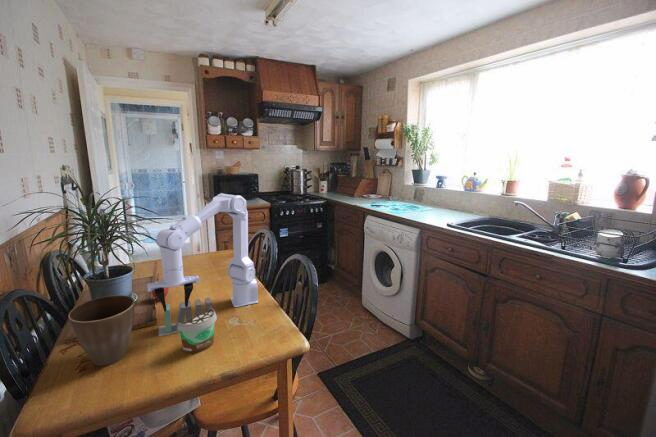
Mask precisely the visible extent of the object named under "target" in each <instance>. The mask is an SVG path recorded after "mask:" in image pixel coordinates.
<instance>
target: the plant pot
mask: <svg viewBox="0 0 656 437" xmlns="http://www.w3.org/2000/svg"><path fill="white" fill-rule="evenodd" d="M134 314H135V299H134V298H133V297H132V296H129V295H123V294H120V295H119V294H116V295H105V296H101V297H98V298H93V299H91V300H87V301H85V302H83V303H80V304H79V305H77V306H75V307H74V308H73V309H71V310H70V312H69V313H68V316H67V317H68V320H69V322H70V325H71V328H72V329H73V332H74V334H75V337H76V339H77V341H78V342H79V344H80V346H81V347H82V349H83V350H84V352H85V354H86V355H87V357H89V359H90V360H91V361H92V363H94V365H95V366H98V367H105V366H110V365H113V364H115V363H118V362H119V361H120V360H122V359H124V357H125V355H126V352H127V350H128V347H129V343H130V340H131V335H132V330H133V323H134V316H135V315H134Z"/></svg>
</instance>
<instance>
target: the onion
mask: <svg viewBox="0 0 656 437" xmlns="http://www.w3.org/2000/svg"><path fill="white" fill-rule="evenodd" d="M168 294H169V288H164V295H165V298H166V297H167V295H168ZM151 295H152V297H153V298H154V299H156V300H159V299H158V297H157V296H156V295H155V290H152V291H151Z"/></svg>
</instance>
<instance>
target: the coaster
mask: <svg viewBox="0 0 656 437" xmlns="http://www.w3.org/2000/svg"><path fill="white" fill-rule="evenodd" d="M171 330H172V332H170V333H166V326H165V325H162V326H158V337H161V336H166V335H171V334H172V335H173V334H176V333H180V331H179V330H178V331H177V322H176V323H171Z"/></svg>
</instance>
